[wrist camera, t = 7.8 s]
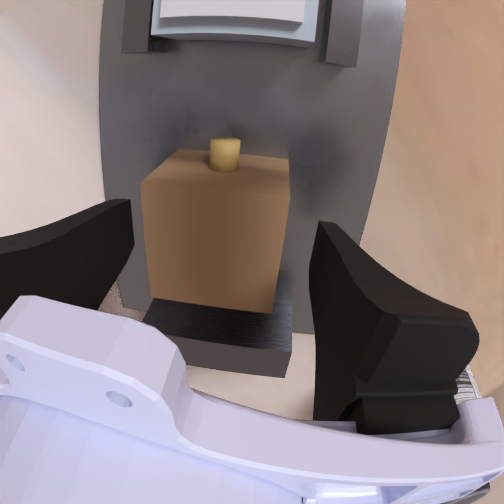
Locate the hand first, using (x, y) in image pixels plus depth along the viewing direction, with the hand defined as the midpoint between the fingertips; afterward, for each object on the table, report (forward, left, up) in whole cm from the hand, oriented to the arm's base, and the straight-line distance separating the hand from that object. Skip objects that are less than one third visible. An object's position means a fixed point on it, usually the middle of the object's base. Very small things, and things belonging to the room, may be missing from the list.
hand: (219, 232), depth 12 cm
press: (0, +3, -3) cm, 4 cm away
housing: (0, 0, -2) cm, 2 cm away
